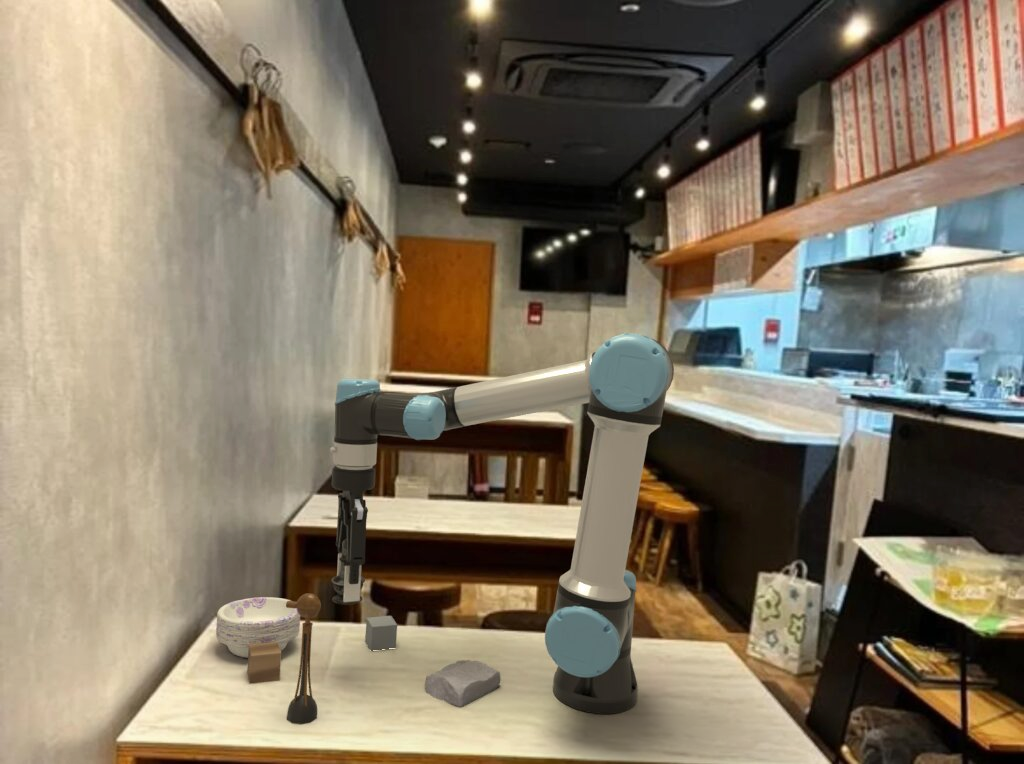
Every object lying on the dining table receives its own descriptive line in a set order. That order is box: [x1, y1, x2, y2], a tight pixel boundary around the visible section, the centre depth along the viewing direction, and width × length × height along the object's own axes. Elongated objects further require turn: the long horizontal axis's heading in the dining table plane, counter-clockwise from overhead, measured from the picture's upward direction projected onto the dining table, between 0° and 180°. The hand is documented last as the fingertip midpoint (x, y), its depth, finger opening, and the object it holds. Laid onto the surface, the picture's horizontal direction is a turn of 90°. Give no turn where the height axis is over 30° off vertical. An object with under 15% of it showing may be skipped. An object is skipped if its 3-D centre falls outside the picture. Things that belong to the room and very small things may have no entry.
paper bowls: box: [215, 596, 301, 659], centre depth 142 cm, size 15×15×8 cm
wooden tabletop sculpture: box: [286, 593, 322, 725], centre depth 118 cm, size 6×5×20 cm
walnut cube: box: [246, 642, 282, 684], centre depth 131 cm, size 5×5×5 cm
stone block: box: [424, 659, 501, 708], centre depth 132 cm, size 12×5×10 cm
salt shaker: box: [331, 539, 366, 606], centre depth 132 cm, size 6×6×12 cm
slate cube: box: [364, 615, 398, 652], centre depth 148 cm, size 5×5×5 cm
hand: (347, 594), depth 132 cm, fingers closed on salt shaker, 6 cm apart
